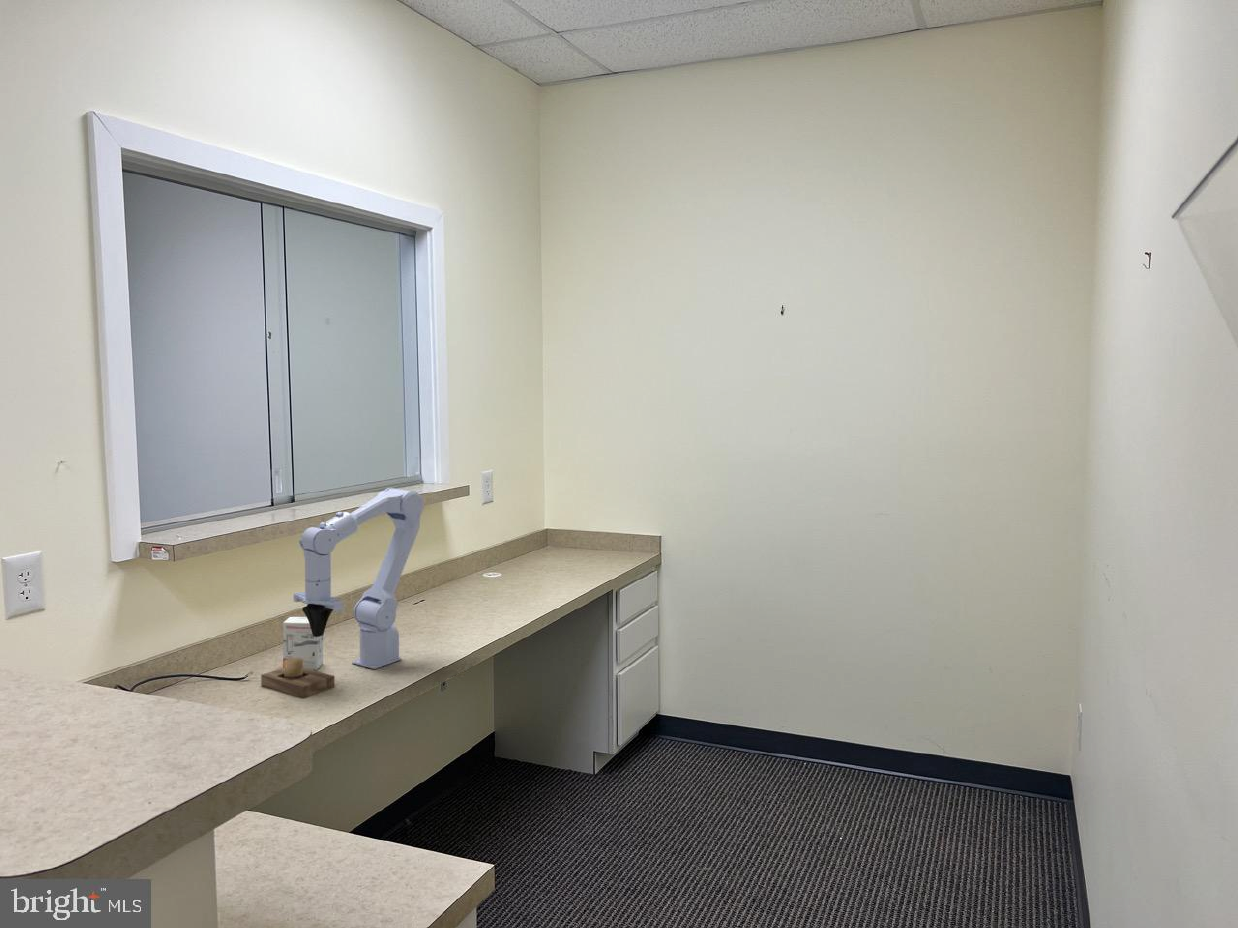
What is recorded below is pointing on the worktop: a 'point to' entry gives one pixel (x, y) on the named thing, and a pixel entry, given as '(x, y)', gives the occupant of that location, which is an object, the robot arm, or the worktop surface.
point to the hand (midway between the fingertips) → (318, 635)
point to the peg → (293, 668)
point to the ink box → (302, 643)
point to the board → (298, 682)
